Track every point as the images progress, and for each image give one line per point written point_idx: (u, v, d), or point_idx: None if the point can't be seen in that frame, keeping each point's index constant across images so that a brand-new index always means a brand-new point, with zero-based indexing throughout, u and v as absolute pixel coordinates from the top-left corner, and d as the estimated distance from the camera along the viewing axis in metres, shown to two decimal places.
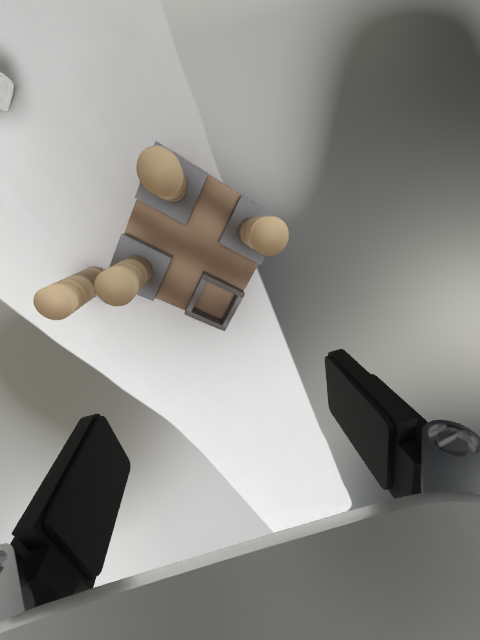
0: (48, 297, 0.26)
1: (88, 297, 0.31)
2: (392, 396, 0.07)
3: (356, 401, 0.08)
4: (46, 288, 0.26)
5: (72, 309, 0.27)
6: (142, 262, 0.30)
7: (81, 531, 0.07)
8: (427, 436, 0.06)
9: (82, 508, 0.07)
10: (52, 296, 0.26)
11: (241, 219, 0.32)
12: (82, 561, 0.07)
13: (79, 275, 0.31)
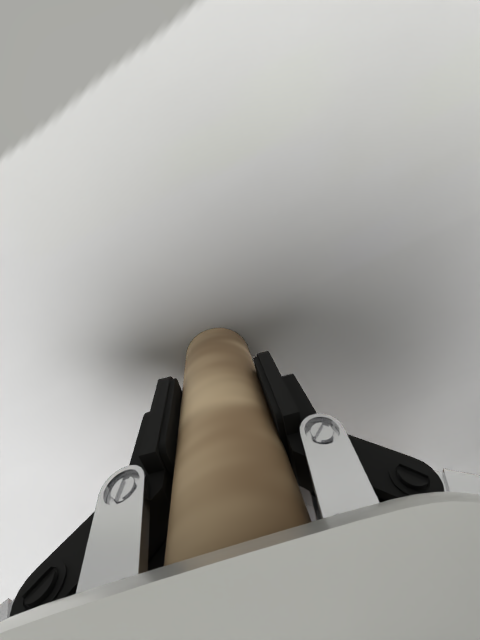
0: None
1: None
2: (288, 393, 0.08)
3: (266, 398, 0.09)
4: None
5: None
6: None
7: None
8: (303, 427, 0.07)
9: None
10: None
11: None
12: None
13: None
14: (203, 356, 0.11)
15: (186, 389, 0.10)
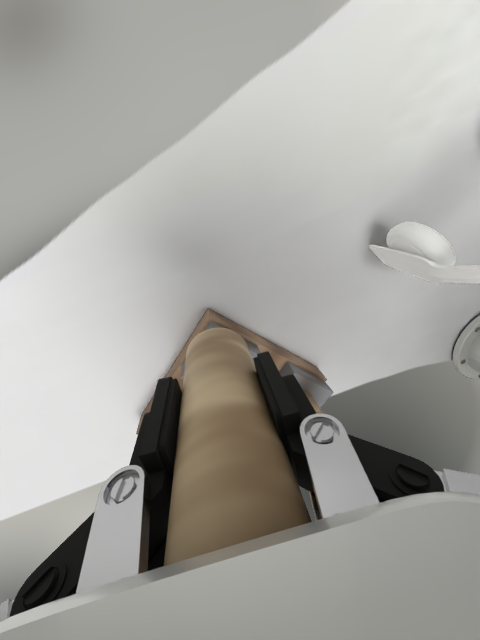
0: None
1: None
2: (288, 393, 0.08)
3: (266, 398, 0.09)
4: None
5: None
6: None
7: None
8: (303, 427, 0.07)
9: None
10: None
11: None
12: None
13: None
14: (203, 355, 0.11)
15: (186, 388, 0.10)
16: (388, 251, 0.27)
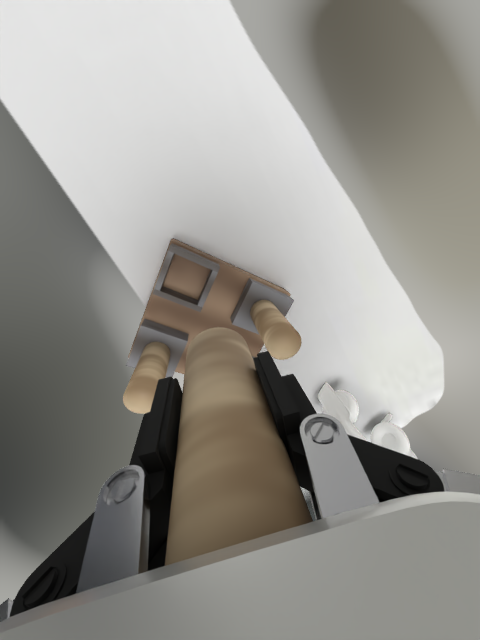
0: None
1: None
2: (288, 393, 0.08)
3: (266, 398, 0.09)
4: None
5: None
6: None
7: None
8: (303, 427, 0.07)
9: None
10: None
11: (168, 361, 0.35)
12: None
13: None
14: (204, 355, 0.11)
15: (187, 388, 0.10)
16: (334, 394, 0.44)
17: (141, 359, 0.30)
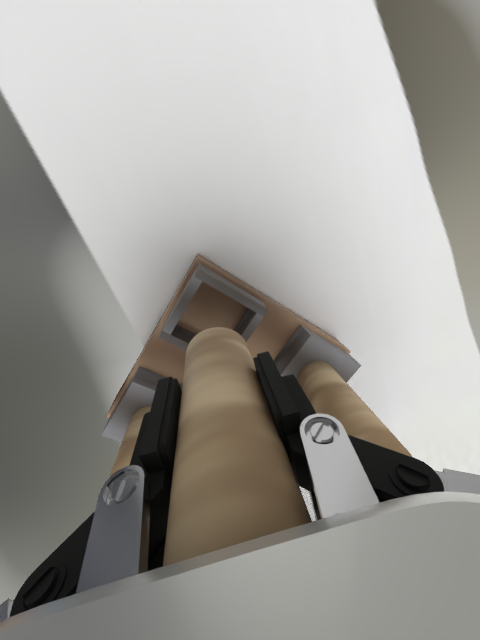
0: None
1: None
2: (288, 393, 0.08)
3: (266, 398, 0.09)
4: None
5: None
6: None
7: None
8: (303, 427, 0.07)
9: None
10: None
11: None
12: None
13: None
14: (203, 355, 0.11)
15: (185, 388, 0.10)
16: None
17: (127, 446, 0.18)
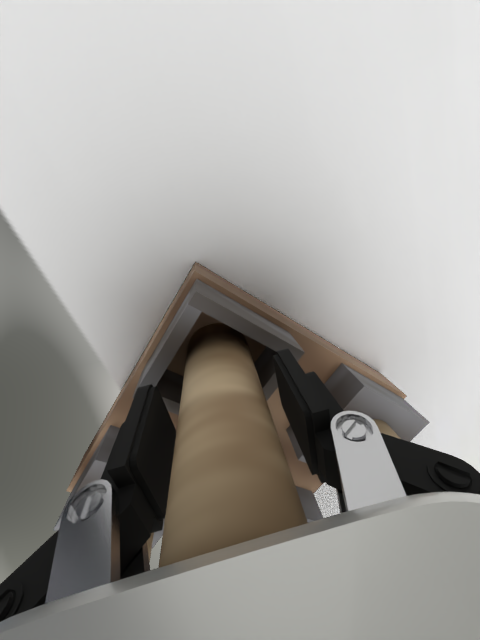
0: None
1: None
2: (314, 390, 0.08)
3: (290, 395, 0.09)
4: None
5: None
6: None
7: (153, 478, 0.08)
8: (334, 425, 0.07)
9: (152, 459, 0.08)
10: None
11: None
12: (156, 502, 0.08)
13: None
14: (203, 349, 0.12)
15: (186, 379, 0.11)
16: None
17: None
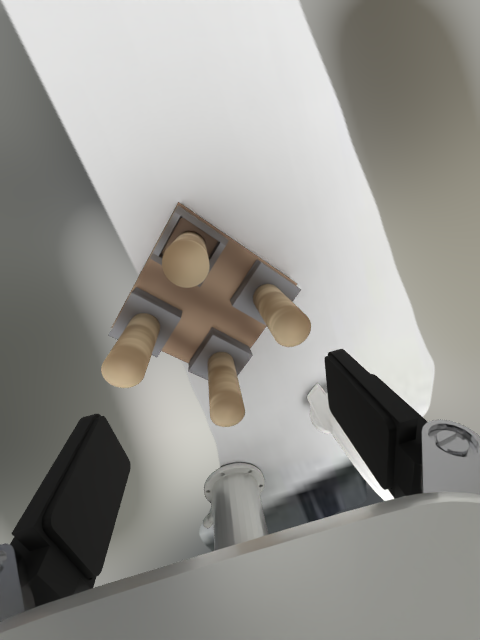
0: (195, 262, 0.19)
1: None
2: (392, 396, 0.07)
3: (356, 401, 0.08)
4: (208, 263, 0.20)
5: None
6: None
7: (81, 531, 0.07)
8: (427, 436, 0.06)
9: (82, 508, 0.07)
10: (196, 267, 0.20)
11: (157, 337, 0.32)
12: (82, 561, 0.07)
13: None
14: (181, 233, 0.27)
15: None
16: (325, 396, 0.42)
17: (127, 328, 0.26)
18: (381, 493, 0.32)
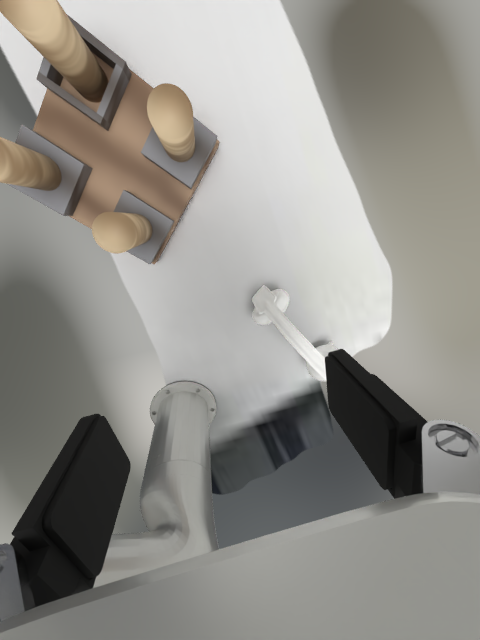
0: None
1: (49, 60, 0.21)
2: (392, 396, 0.07)
3: (356, 401, 0.08)
4: None
5: (15, 25, 0.17)
6: (165, 149, 0.27)
7: (81, 531, 0.07)
8: (427, 436, 0.06)
9: (82, 508, 0.07)
10: None
11: (59, 189, 0.29)
12: (82, 561, 0.07)
13: (87, 59, 0.23)
14: None
15: None
16: (267, 290, 0.39)
17: None
18: (308, 358, 0.29)
